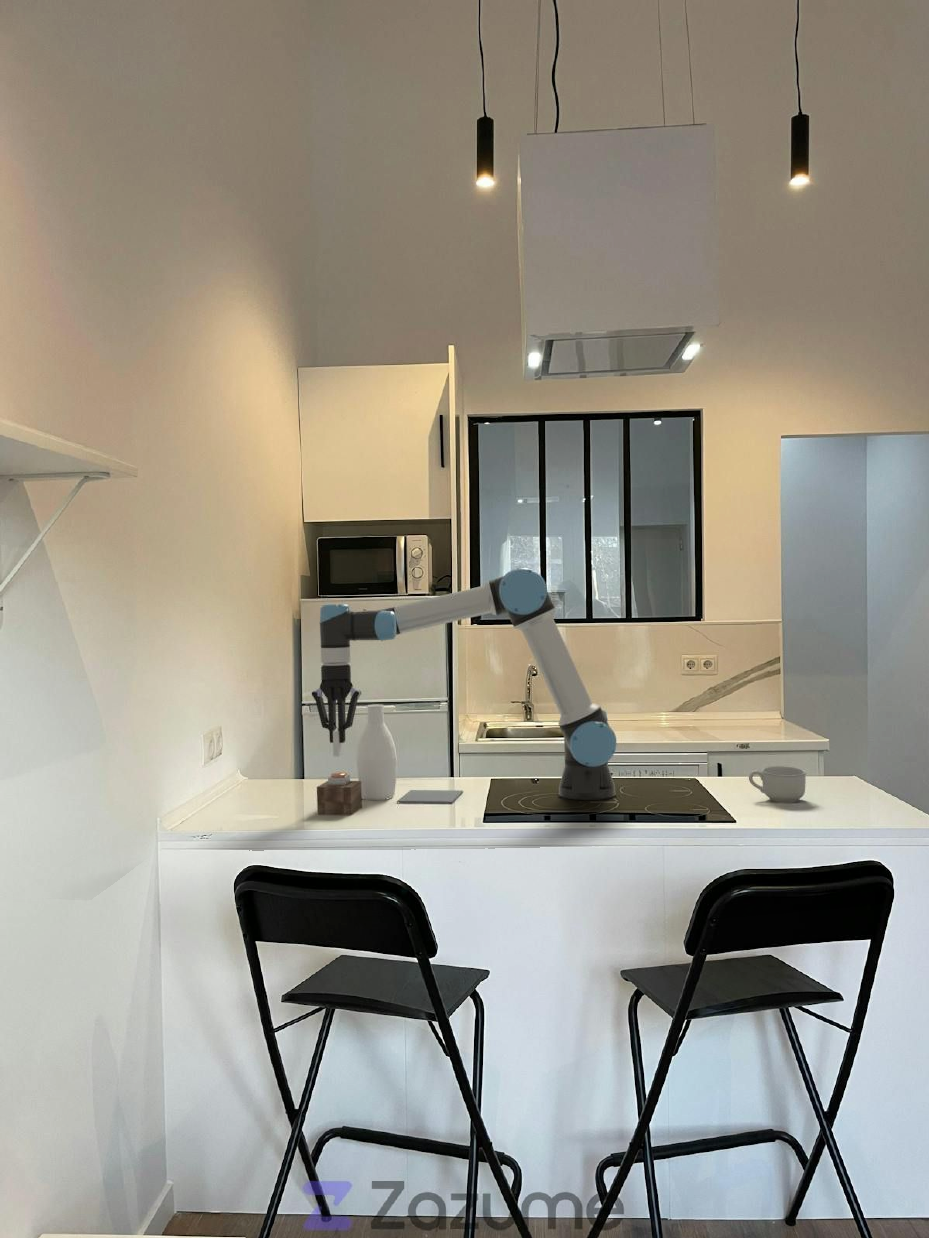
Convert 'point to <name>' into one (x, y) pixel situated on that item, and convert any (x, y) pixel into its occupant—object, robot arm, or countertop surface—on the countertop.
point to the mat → (431, 796)
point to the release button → (338, 779)
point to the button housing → (339, 799)
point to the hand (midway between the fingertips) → (337, 755)
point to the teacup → (781, 783)
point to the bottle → (376, 757)
